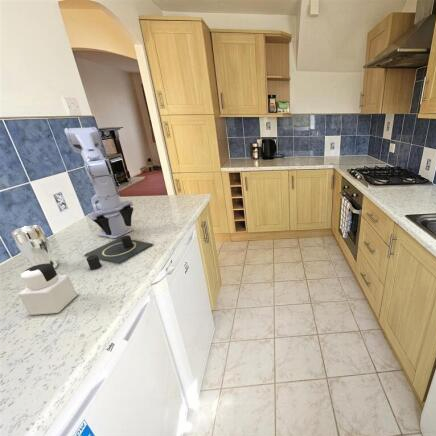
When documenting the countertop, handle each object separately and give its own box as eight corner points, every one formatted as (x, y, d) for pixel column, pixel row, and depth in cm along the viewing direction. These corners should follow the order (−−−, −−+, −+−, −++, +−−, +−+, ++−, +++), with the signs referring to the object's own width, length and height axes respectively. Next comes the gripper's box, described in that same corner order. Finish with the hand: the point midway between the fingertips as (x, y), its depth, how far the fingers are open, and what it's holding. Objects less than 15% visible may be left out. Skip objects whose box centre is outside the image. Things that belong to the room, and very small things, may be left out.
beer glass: (64, 264, 85) (46, 225, 79) (39, 276, 79) (18, 235, 73) (51, 261, 87) (32, 223, 81) (26, 272, 81) (4, 232, 75)
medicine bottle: (52, 296, 69) (33, 261, 65) (78, 294, 70) (61, 259, 65) (29, 315, 63) (7, 277, 58) (58, 313, 63) (38, 275, 59)
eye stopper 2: (122, 247, 94) (119, 238, 92) (129, 243, 96) (126, 234, 95) (127, 248, 93) (124, 239, 91) (134, 244, 95) (131, 235, 94)
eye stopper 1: (88, 269, 82) (84, 258, 80) (97, 264, 85) (93, 254, 83) (94, 270, 81) (90, 260, 79) (103, 265, 84) (99, 255, 82)
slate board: (85, 255, 90) (84, 253, 90) (120, 238, 102) (120, 237, 102) (119, 264, 84) (118, 262, 84) (152, 245, 96) (152, 243, 96)
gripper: (93, 203, 77) (107, 240, 83) (134, 190, 90) (143, 223, 95) (78, 201, 80) (93, 237, 85) (120, 188, 92) (130, 221, 97)
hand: (119, 230), depth 90 cm, fingers open, 7 cm apart
